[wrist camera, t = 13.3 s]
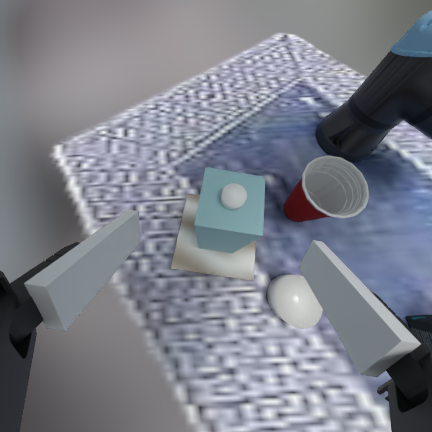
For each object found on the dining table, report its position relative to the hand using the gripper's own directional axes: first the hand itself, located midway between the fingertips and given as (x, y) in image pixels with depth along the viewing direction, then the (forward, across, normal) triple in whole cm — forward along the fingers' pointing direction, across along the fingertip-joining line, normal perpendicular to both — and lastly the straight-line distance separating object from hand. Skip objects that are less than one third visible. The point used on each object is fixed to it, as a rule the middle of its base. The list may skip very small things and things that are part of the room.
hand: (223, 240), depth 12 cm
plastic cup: (+24, +17, -5) cm, 30 cm away
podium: (+17, 0, -11) cm, 21 cm away
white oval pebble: (+11, +16, -18) cm, 26 cm away
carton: (+14, 0, -8) cm, 17 cm away
